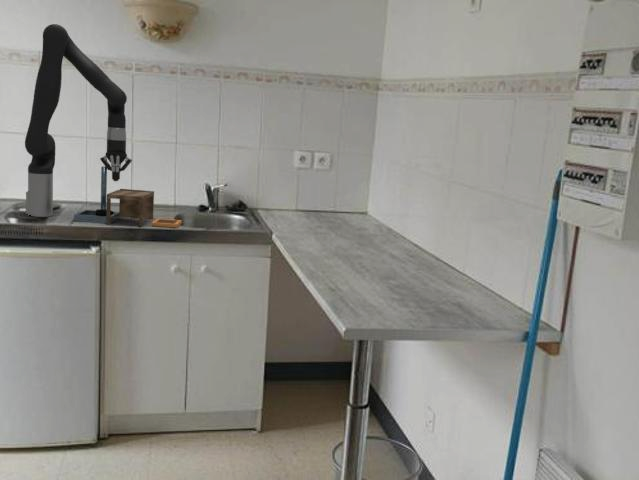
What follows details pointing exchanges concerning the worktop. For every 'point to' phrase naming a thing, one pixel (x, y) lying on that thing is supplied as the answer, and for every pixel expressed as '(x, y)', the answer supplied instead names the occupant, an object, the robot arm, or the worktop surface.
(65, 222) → the worktop surface
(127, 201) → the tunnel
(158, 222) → the tray
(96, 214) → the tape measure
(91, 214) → the stand with upright post
